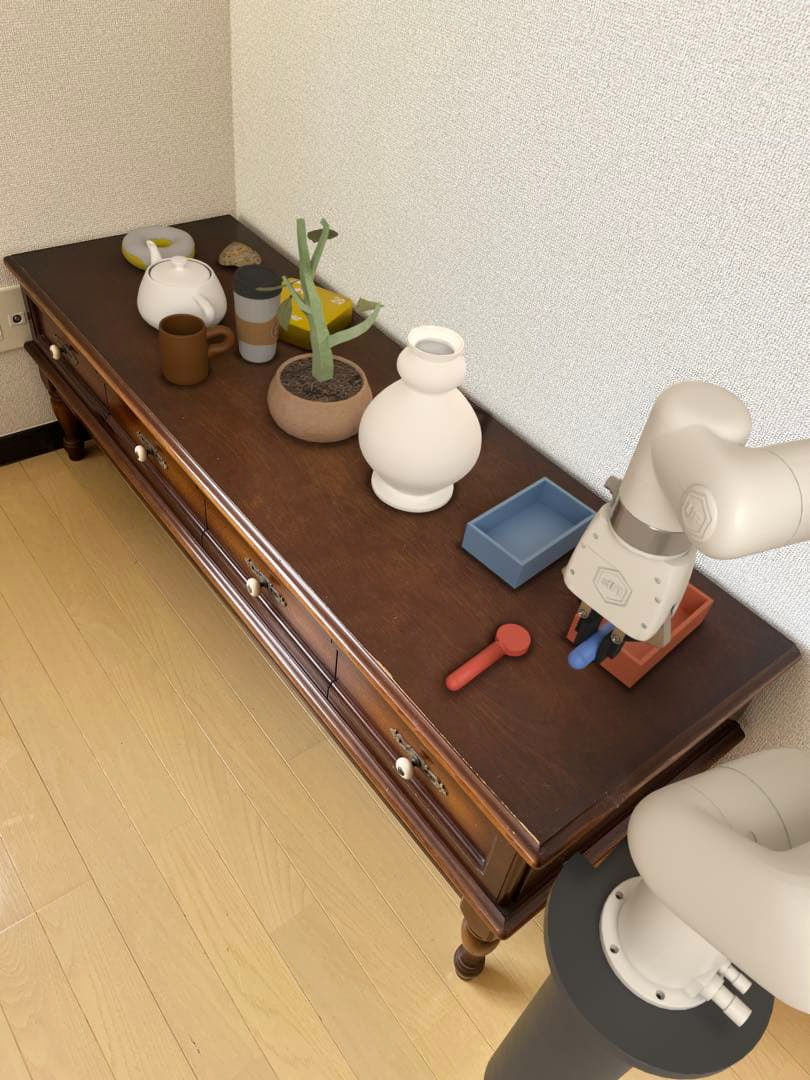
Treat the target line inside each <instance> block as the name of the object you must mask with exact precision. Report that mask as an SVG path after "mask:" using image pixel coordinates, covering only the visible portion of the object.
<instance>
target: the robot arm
mask: <svg viewBox="0 0 810 1080" xmlns="http://www.w3.org/2000/svg"><path fill="white" fill-rule="evenodd" d="M752 427H753V419H752V415H751V413H750V410H749V408H748V407H747V405H746V404H745V402H743V401H742V400H741V398H739V397H738V396H737V395H736V394H734V393H733V392H732V391H730V390H728V389H727V388H724V387H722V386H719V385H717V384H715V383H711V382H706V381H703V380H702V381H701V380H683V381H678V382H675V383H673V384H671V385H669V386H667V387H665V389H663V390H662V391H661V392H660V393H659V395H658V396H657V397H656V399H655V401H654V403H653V405H652V408H651V410H650V413H649V415H648V418H647V420H646V421H645V425H644V427H643V430H642V431H641V434H640V437H639V439H638V441H637V444H636V446H635V449H634V451H633V454H632V456H631V459H630V461H629V464H628V465H627V468H626V471H625V473H624V476H623V478H622V477H619V478H618V477H617V476H615V475H614V474H611V475H610V476H608V478H607V479H606V480H605V482H604V485H603V487H604V488H605V489H607V491H609V493H610V494H611V497H612V498H611V500H610V501H608V502H606V503H605V504H602V506H601V507H600V508H599V510H598V511H597V514H596V515H595V516H594V518H593V519H592V521H591V522H590V524H589V526H588V527H587V529H586V531H585V532H584V534H583V536H582V537H581V539H580V541H579V543H578V545H577V546H576V547H574V550H573V552H572V554H571V555H570V558H569V560H568V563H567V565H565V566H563V568H562V569H561V574H562V576H563V581H564V584H565V586H566V587H567V589H568V590H570V592H571V593H572V594H574V596H575V598H576V600H577V603H578V605H579V607H578V609H577V613H579V615H580V619H579V621H578V623H577V626H576V628H575V631H576V632H577V635H576V638H575V640H574V642H572V645H573V646H574V647H575V648H576V647H577V646H579V645H580V644H581V643H582V642H583V641H585V640H586V639H587V638H588V637H589V636H591V635H592V634H593V633H594V632H595V631H597V630H598V628H599V626H600V624H601V621H602V619H603V617H604V618H605V619H607V620H608V621H609V622H611V623H612V624H613V625H615V628H614V629H613V630H612V631H611V632H609V633H608V634H607V635H606V636H605V637H604V638H603V640H602V642H601V644H600V647H599V649H598V651H597V653H596V655H595V659H594V660H593V661H594V663H596V664H597V665H600V663H602V662H603V661H604V660H605V659H606V658H607V657H609V658H610V659H611V660H612V659H614V658H615V657H616V656H617V655H618V654H619V652H620V651H621V649H622V647H623V645H624V643H625V642H641V641H644V642H645V643H647V644H649V645H652V646H654V647H657V648H660V649H662V648H664V647H665V646H666V645H667V644H668V643H669V642H670V641H671V618H672V617H673V615H674V614H675V612H676V610H677V608H678V606H679V604H680V602H681V600H682V597H683V595H684V593H685V590H686V588H687V585H688V583H690V579H691V578H692V577H691V576H692V573H693V570H694V567H695V564H696V563H695V562H696V560H697V559H696V558H697V554H698V551H699V553H700V554H702V555H704V556H705V557H708V558H710V559H713V560H717V561H730V560H735V559H742V558H746V557H749V556H752V555H757V554H760V553H765V552H768V551H772V550H776V549H780V548H784V547H788V546H792V545H795V544H800V543H803V542H807V541H810V437H809V438H803V439H796V440H789V441H783V442H779V443H774V444H768V445H763V446H759V447H749V446H746V444H747V443H748V440H749V438H750V435H751V432H752ZM626 835H627V838H628V845H629V850H630V854H631V857H632V859H633V862H634V864H635V866H636V868H637V870H638V872H639V874H640V875H641V876H638V877H633V878H630V879H628V880H626V881H624V882H622V883H621V884H619V885H618V886H617V887H616V888H615V889H614V890H613V891H612V892H611V893H610V895H609V896H608V898H607V899H606V901H605V903H604V905H603V908H602V911H601V914H600V922H599V932H600V940H601V944H602V948H603V952H604V954H605V956H606V959H607V961H608V963H609V965H610V967H611V968H612V970H613V971H614V973H615V975H616V976H617V977H618V978H619V979H620V981H621V982H622V983H623V984H624V985H625V986H626V987H627V988H628V989H629V990H630V991H631V992H633V993H634V994H635V995H636V996H638V997H639V998H641V999H643V1000H644V1001H646V1002H647V1003H650V1004H652V1005H655V1006H657V1007H660V1008H664V1009H669V1010H686V1009H690V1008H694V1007H696V1006H698V1005H700V1004H702V1003H704V1002H705V1001H706V1000H707V1001H709V1000H710V999H712V1000H713V1001H714V1002H715V1003H716V1004H717V1005H718V1006H719V1007H720V1008H721V1009H722V1010H723V1012H724V1013H725V1014H726V1015H727V1016H728V1017H729V1018H730V1019H731V1020H732V1021H733V1022H734V1023H735V1024H736V1025H738V1026H739V1027H740V1026H741V1025H742V1024H743V1023H744V1022H745V1021H746V1020H747V1019H748V1017H749V1016H750V1014H751V1012H752V1010H751V1009H750V1008H749V1007H747V1006H746V1005H745V1004H744V1003H743V1002H742V1001H741V1000H740V999H739V998H738V997H737V996H736V995H735V996H734V995H733V994H732V993H731V992H730V991H729V990H728V989H727V988H726V987H725V986H724V985H723V983H724V980H723V978H724V976H725V977H726V978H727V979H728V980H729V981H730V982H731V983H732V985H733V986H734V987H735V988H736V989H737V990H738V991H739V992H741V993H742V994H744V993H745V992H746V991H747V990H748V989H749V987H750V986H751V984H752V983H751V982H750V981H749V980H748V979H747V978H746V977H745V976H744V975H742V974H741V973H739V972H738V971H737V970H736V969H735V968H734V967H733V966H732V965H731V962H732V963H733V964H735V965H736V966H737V967H738V968H739V969H741V970H742V971H743V972H744V973H746V974H747V975H748V976H749V977H750V978H752V979H753V980H754V981H755V982H757V983H758V984H759V985H760V986H762V987H763V988H764V989H766V990H767V991H768V992H770V993H771V994H772V995H773V996H775V999H777V1000H779V1001H781V1003H784V1004H785V1005H788V1006H789V1007H791V1008H793V1009H795V1010H797V1011H799V1012H802V1013H805V1014H808V1015H810V751H807V750H804V749H799V748H793V747H774V748H768V749H762V750H759V751H756V752H752V753H748V754H747V755H743V756H740V757H738V758H735V759H733V760H730V761H727V762H724V763H722V764H719V765H716V766H713V767H712V768H709V769H708V770H705V771H703V772H700V773H697V774H694V775H692V776H689V777H686V778H683V779H681V780H679V781H678V780H677V781H676V782H673V783H670V784H667V785H665V786H663V787H661V788H659V789H656V790H654V791H652V792H651V793H649V794H647V795H646V796H644V797H643V798H642V799H641V800H640V801H639V802H638V803H637V804H636V805H635V807H634V809H633V811H632V812H631V815H630V817H629V820H628V825H627V832H626ZM616 897H618V898H619V899H617V898H616ZM611 950H613V952H614V953H612V952H611ZM656 995H658V996H659V998H660V999H658V998H657V996H656Z"/></svg>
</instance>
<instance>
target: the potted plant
mask: <svg viewBox="0 0 810 1080" xmlns="http://www.w3.org/2000/svg"><path fill="white" fill-rule="evenodd" d="M319 224H320V225H321V226H322V228H318V229H312V230H311V231H308V232H307V228H306V220H305V219H304V218H302V217H301V218H296V237H297V238H296V239H297V240H296V241H297V249H298V256H299V260H298V261H299V266H298V269H299V270H298V272H299V280H300V282H301V285H302V290H303V295H304V300H303V299H302V297H301V296H300V295H299V294H298V293H297V292H296V291H295V289H294V288H293V286H292V284H293V283H295V282H297V281H299V280H297V281H293V282H289V280H288V279H289V278H288V277H287V276H286V275H283V276H281V279H282V281H284V282H285V284H284V285H280V286H277V287H269V288H260V287H257V288H256V290H259V291H272V290H275V289H279V288H282V287H285V286H287V288H288V290H289V292H290V294H291V295H290V296H289V297H288V298H287V299H285V300H284V301H283V302H282V303H281V304H280V306H279V308H278V310H277V318H278V322H279V324H280V325H281V327H282V328H283V329H284V330H285V331H286V332H287V334H288V326H289V323H290V319H291V316H292V301H291V299H292V297H293V298H294V300H295V302H296V303H297V305H298V306H299V308H300V309H301V311H302V312H303V313H304V314H305V315H306V317H307V319H308V321H309V326H310V339H311V345H312V350H311V353H310V352H309V353H304V354H298V355H295V356H293V357H290V358H288V359H287V360H285V361H284V362H283V363H281V364H280V365H279V367H278V368H277V370H276V371H275V374H274V375H273V378H272V379H271V381H270V383H269V386H268V391H267V396H266V400H267V406H268V410H269V414H270V416H271V417H272V419H273V421H274V422H275V423H276V425H277V426H278V427H279V428H280V429H281V430H282V431H284V432H285V433H287V434H288V435H290V436H292V437H294V438H296V439H298V440H302V441H306V442H310V443H322V444H323V443H324V444H325V443H335V442H340V441H344V440H347V439H348V438H349V439H350V438H351V437H353V436H355V435H356V434H357V435H358V434H359V426H360V422H361V419H362V416H363V414H364V412H365V410H366V408H367V407H368V405H369V404H370V403H371V401H372V400H373V399H374V397H373V392H372V389H371V386H370V383H369V381H368V378H367V376H366V374H365V371H364V370H363V369H362V368H361V367H360V366H359V365H358V364H356V363H355V362H353V361H352V360H349V359H347V358H345V357H343V356H339V355H335V354H333V351H332V349H331V348H333V347H335V346H337V345H339V344H342V343H345V342H349V341H350V340H353V339H356V338H358V337H359V336H361V335H362V334H364V333H366V332H367V331H368V330H369V329H370V328H371V327H372V325H374V324H375V322H376V320H377V317H378V316H379V313H380V310H381V308H384V307H385V306H386V305H384V304H382V302H381V301H372V300H371V301H370V300H368V299H365V298H362V297H359V299H358V301H357V303H356V307H355V310H354V312H355V313H364V312H369V311H373V312H372V313H370V315H369V316H368V317H367V318H366V319H365V320H363V321H362V322H360V323H358V324H356V325H354V326H352V327H350V328H347V329H343V330H342V331H340V332H337V333H335V334H333V335H329V331H328V329H327V325H326V322H325V318H324V315H323V312H322V303H321V301H320V298H319V296H318V294H317V291H316V288H315V286H316V285H315V282H314V278H315V274H316V271H317V269H318V266H319V263H320V260H321V258H322V254H323V251H324V248H325V246H326V243H327V240H333V239H335V238H337V237H339V233H338V232H337V231H336V230H333V229H331V228H330V224H329V223H328V221H327V220H326V218H323V217H322V218H321V220H320V222H319ZM307 239H308V240H310V241H312V243H313V244H315V243H317V244H316V246H315V249H314V251H313V253H312V256H310V251H309V246H308V240H307Z"/></svg>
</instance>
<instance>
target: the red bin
mask: <svg viewBox="0 0 810 1080" xmlns="http://www.w3.org/2000/svg"><path fill="white" fill-rule="evenodd" d="M714 602H715V600H714V599H713V598H711V597H710V596H708V595H707V594H706V593H704V592H703V591H701V590H700V589H698V588H697V587H695V586H694V585H693V584H691V583H690V582H689V583H688V585H687V588H686V590H685V593H684V595H683V597H682V600H681V602H680V604H679V606H678V608H677V610H676V612H675V614H674V615H673V617H672V618H671V641H670V642H669V643H668V644H667V645H666V646H665V647H664V648H662V649H660V648H657V647H654V646H652V645H649V644H647V643H645V642H644V641H641V642H625V643H624V645H623V647H622V649H621V651H620V652H619V654H618V655H617V656H616V657H615V658H614V659H612V660H611V659H610V658H609V657H607V658H606V659H605V660H604V661H603V662H602V663H600V664H599V665H600V666H601V667H602V668H604V669H605V670H606V671H607V672H609V674H611V675H613V676H614V677H615V678H616V679H617V680H618V681H619V682H621V683H622V684H624V685H625V686H626V687H627V688H629V689H631V687H633V686H634V685H635V684H636V683H637V682H638V681H639V680H640V679H641V678H642V677H643V676H644V675H646V674H647V673H648V672H649V671H650V670H651V669H652V668H654V667H655V666H656V665H657V664H658V663H659V662H660V661H662V659H664V658H665V656H667V655H668V654H669V653H670V652H671V651H672V650H673V649H674V648H675V647H677V646H678V645H679V644H680V643H681V642H682V641H683V640H684V639H685V638H686V637H687V636H689V634H691V633H692V632H693V631H694V630H695V629H696V628H697V627H698V626H699V625H701V624H702V622H703V620H704V619H705V617H706V615H707V614H708V612H709V610H710V609H711V607H712V605H713V603H714ZM579 619H580V615H579V613H578V612H577V613H575V615H574V617H573V620H572V622H571V624H570V627H569V629H568V632H567V635H566V637H565V638H566V639H568V640H569V641H570V642H571V643H573V642H574V640H575V638H576V635H577V632H576V631H575V628H576V626H577V623H578V621H579ZM607 621H608V620H607V619H605V618H604V617H603V619H602V621H601V624H600V626H599V628H600V627H601V626H603V625H604V624H605V623H606V622H607ZM599 628H598V629H599Z"/></svg>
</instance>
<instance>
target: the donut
mask: <svg viewBox="0 0 810 1080" xmlns="http://www.w3.org/2000/svg"><path fill="white" fill-rule="evenodd" d="M148 240H150V241H152V242H154V243H155V245H156V246H157V248H158V250H159V253H160V255H161V257H162V259H166V258H172V257H174V256H184V257H186V258H191V259H195V255H196V254H195V253H196V248H195V246H196V245H195V241H194V239H193V236H192V235H190V234H189V233H188V232H186V231H185V230H182V229H180V228H176V227H172V226H168V225H147V226H146V225H145V226H140V227H138V228H135V229H133V230H131V231H130V232H128V233H127V234H126V235H124V237H123V240H122V242H121V244H122V245H121V252H122V255H123V257H124V258H125V259H126V260H127V262H128V263H130V264H131V265H133V266H134V267H136V268H138V269H139V270H142V271H144V272H146V270H147V268H148V267H149V266H150V265H151V257H150V251H149V248H148V246H147V243H146V241H148Z"/></svg>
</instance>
